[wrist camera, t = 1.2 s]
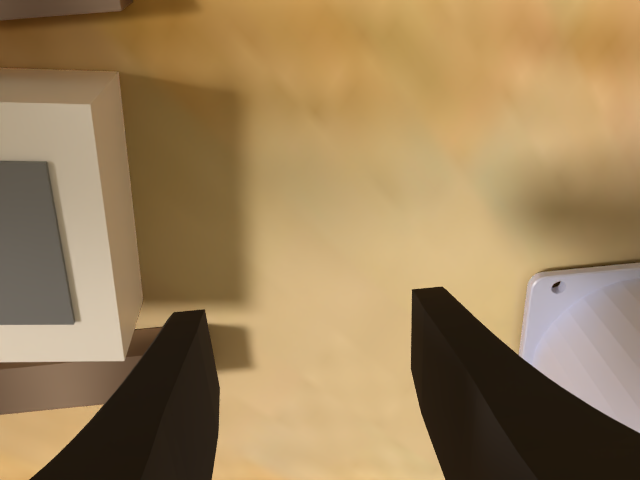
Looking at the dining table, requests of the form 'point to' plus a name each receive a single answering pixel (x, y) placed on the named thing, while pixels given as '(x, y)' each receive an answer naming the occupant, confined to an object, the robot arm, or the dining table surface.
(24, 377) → the guide rails
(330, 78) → the dining table surface
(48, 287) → the block
